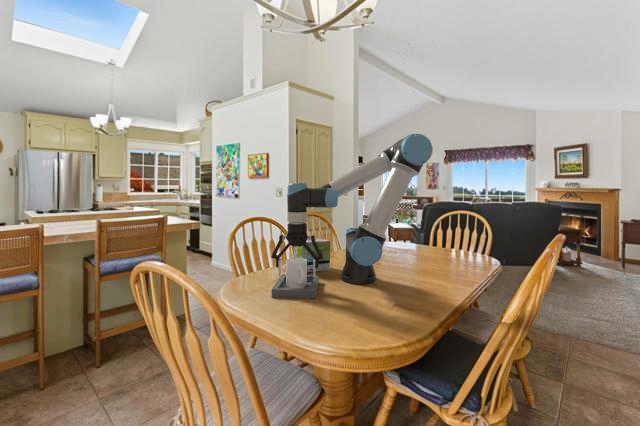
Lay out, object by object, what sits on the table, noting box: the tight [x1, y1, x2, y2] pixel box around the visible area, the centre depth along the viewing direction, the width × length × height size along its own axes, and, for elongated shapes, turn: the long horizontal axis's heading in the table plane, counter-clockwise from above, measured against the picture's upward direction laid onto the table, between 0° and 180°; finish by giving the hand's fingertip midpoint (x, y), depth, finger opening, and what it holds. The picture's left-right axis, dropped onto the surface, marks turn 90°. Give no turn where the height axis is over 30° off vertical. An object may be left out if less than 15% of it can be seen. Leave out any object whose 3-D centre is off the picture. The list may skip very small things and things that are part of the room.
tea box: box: [293, 237, 331, 273], centre depth 158 cm, size 15×10×15 cm, turn 117°
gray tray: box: [271, 273, 320, 300], centre depth 129 cm, size 16×20×3 cm
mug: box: [285, 257, 308, 288], centre depth 128 cm, size 12×8×10 cm
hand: (297, 276), depth 129 cm, fingers open, 13 cm apart
